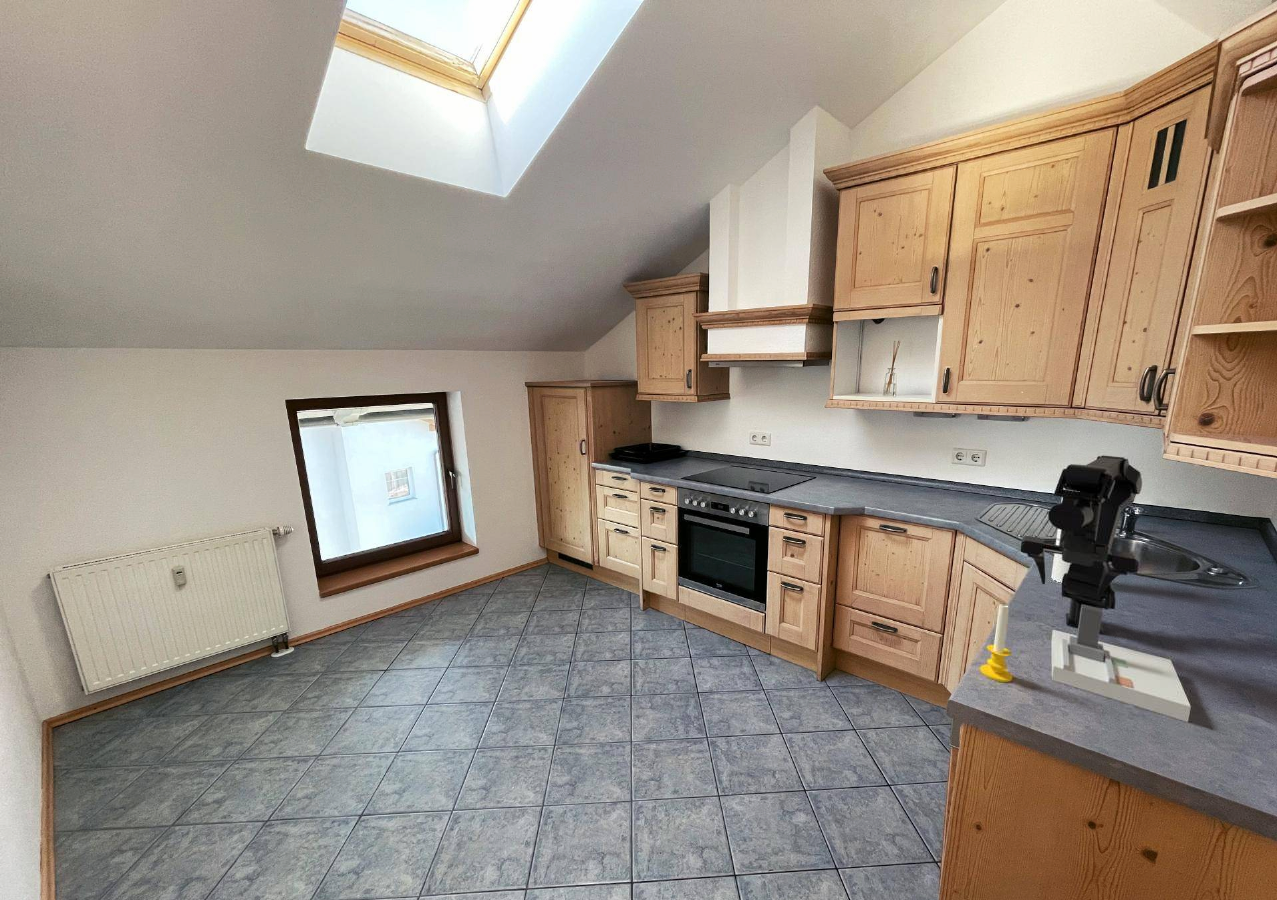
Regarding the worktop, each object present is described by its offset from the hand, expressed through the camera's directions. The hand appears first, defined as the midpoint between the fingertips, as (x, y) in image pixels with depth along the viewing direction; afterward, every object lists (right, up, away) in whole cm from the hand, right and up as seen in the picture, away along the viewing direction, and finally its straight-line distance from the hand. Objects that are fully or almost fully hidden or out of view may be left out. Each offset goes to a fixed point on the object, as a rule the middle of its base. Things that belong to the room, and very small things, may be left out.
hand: (1070, 589), depth 105 cm
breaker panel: (-1, -15, -10) cm, 18 cm away
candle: (-24, -15, -9) cm, 29 cm away
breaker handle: (-4, -11, -7) cm, 14 cm away
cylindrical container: (+30, -8, +34) cm, 46 cm away
